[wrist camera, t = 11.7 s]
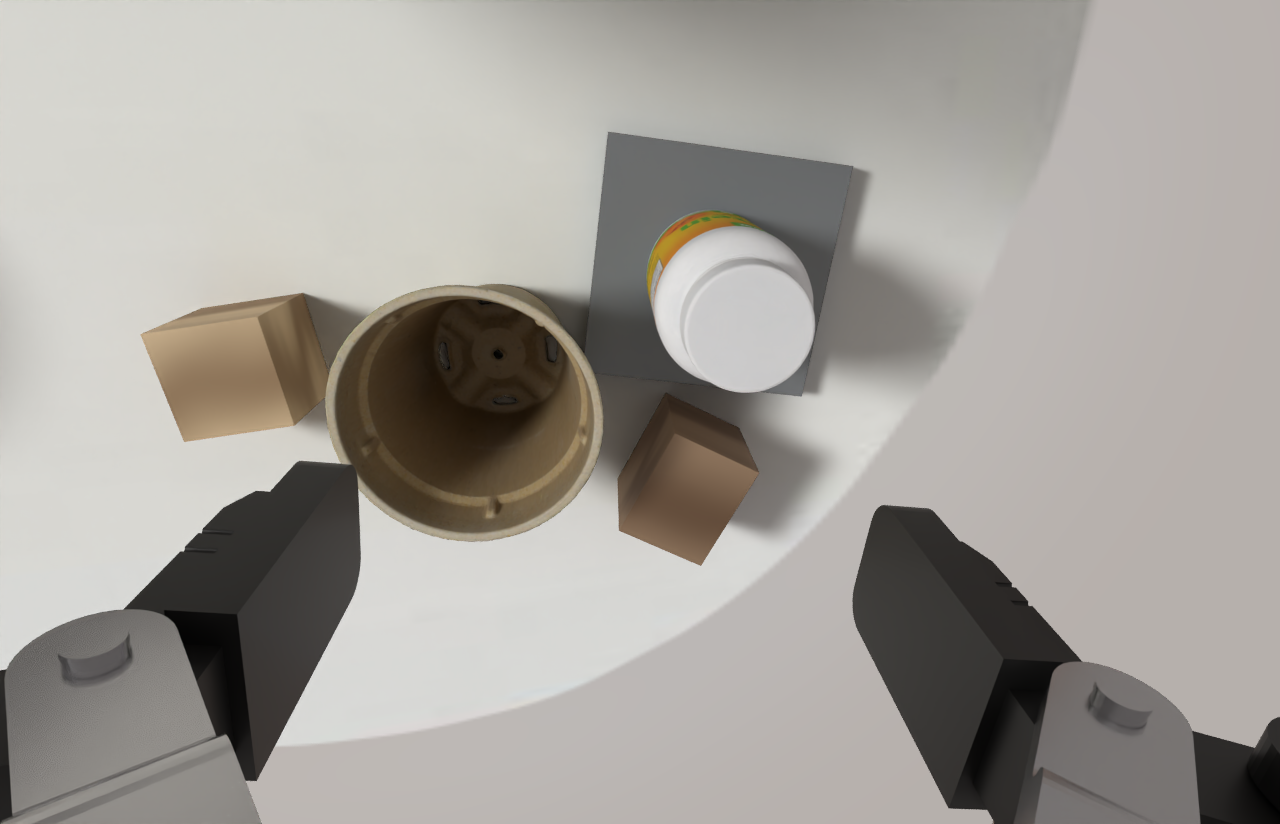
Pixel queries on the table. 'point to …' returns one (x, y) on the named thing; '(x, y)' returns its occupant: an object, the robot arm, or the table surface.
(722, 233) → the supplement bottle
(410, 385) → the flower pot
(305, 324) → the oak cube
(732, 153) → the coaster
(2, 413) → the table surface
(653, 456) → the walnut block
